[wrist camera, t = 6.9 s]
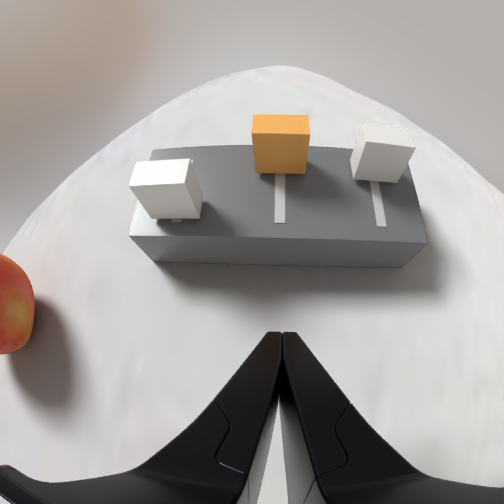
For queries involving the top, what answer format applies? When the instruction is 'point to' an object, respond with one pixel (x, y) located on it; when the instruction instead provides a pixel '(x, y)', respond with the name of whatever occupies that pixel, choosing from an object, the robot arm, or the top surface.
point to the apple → (15, 306)
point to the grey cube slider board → (286, 214)
